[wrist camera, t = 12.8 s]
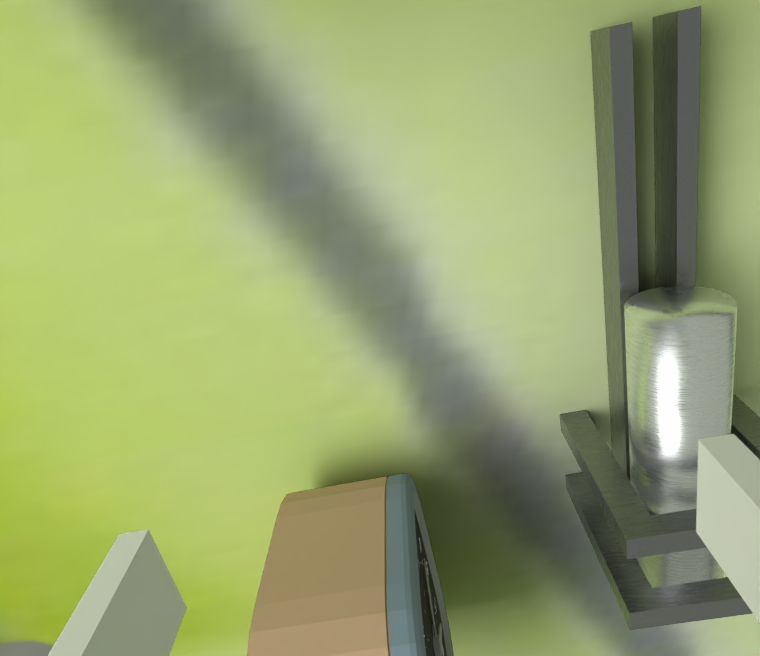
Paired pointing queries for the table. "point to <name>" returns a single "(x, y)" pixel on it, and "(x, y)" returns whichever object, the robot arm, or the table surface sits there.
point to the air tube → (677, 406)
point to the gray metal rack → (620, 278)
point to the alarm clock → (351, 576)
